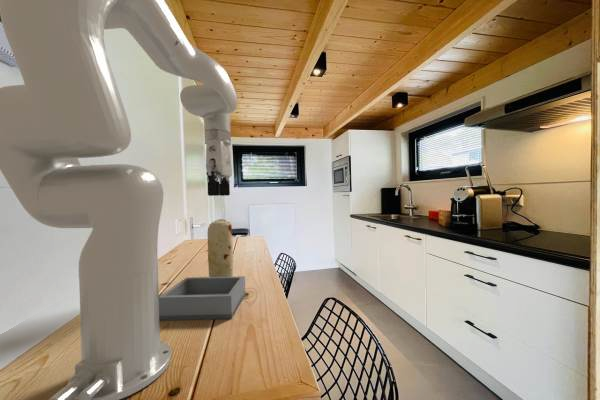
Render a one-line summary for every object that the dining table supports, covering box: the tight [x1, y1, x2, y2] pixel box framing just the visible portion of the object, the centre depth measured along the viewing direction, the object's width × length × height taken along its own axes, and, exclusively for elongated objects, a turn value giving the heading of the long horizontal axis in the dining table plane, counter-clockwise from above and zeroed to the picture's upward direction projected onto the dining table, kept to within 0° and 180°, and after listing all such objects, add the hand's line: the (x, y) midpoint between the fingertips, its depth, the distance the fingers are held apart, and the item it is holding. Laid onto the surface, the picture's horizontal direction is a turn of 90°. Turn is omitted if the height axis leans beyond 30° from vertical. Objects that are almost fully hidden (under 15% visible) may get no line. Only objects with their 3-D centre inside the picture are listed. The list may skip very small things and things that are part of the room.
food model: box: [206, 218, 234, 277], centre depth 72 cm, size 10×7×20 cm
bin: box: [159, 275, 246, 321], centre depth 58 cm, size 13×16×5 cm
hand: (219, 195), depth 72 cm, fingers open, 9 cm apart
